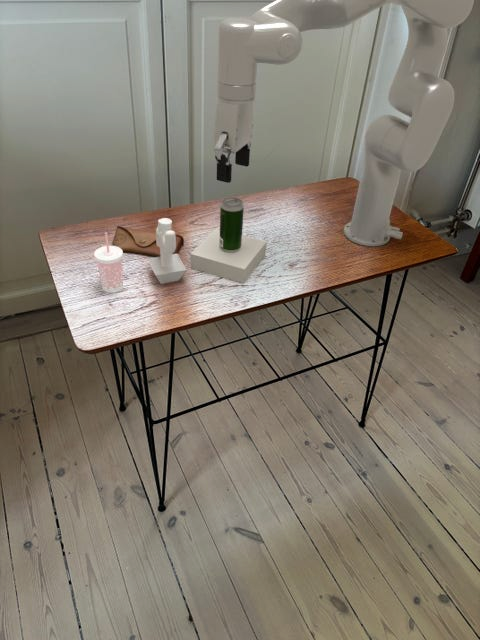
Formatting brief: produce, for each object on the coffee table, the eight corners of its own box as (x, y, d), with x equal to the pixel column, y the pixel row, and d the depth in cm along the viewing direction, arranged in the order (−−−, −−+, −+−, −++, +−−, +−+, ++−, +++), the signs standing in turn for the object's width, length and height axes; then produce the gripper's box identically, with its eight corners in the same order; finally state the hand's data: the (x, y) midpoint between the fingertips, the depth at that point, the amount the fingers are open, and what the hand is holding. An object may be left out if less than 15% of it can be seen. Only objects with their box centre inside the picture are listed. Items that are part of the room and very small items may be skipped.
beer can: (226, 255, 122) (228, 209, 114) (215, 245, 125) (216, 199, 117) (245, 249, 124) (248, 204, 116) (233, 239, 127) (235, 195, 120)
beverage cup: (93, 286, 116) (84, 232, 107) (115, 275, 120) (108, 222, 111) (110, 298, 113) (102, 243, 104) (132, 286, 117) (126, 232, 108)
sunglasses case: (105, 251, 127) (108, 224, 126) (115, 251, 134) (118, 226, 133) (176, 261, 126) (179, 234, 125) (182, 260, 133) (185, 234, 132)
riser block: (265, 255, 130) (266, 241, 127) (243, 283, 120) (244, 269, 117) (215, 241, 134) (215, 228, 131) (190, 267, 124) (190, 253, 121)
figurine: (176, 264, 125) (174, 208, 115) (188, 285, 118) (187, 228, 109) (147, 269, 122) (142, 212, 113) (157, 291, 116) (154, 233, 106)
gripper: (236, 77, 109) (233, 156, 120) (199, 98, 96) (200, 184, 107) (269, 83, 107) (263, 162, 118) (236, 105, 94) (232, 191, 105)
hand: (233, 172), depth 112 cm, fingers open, 9 cm apart
